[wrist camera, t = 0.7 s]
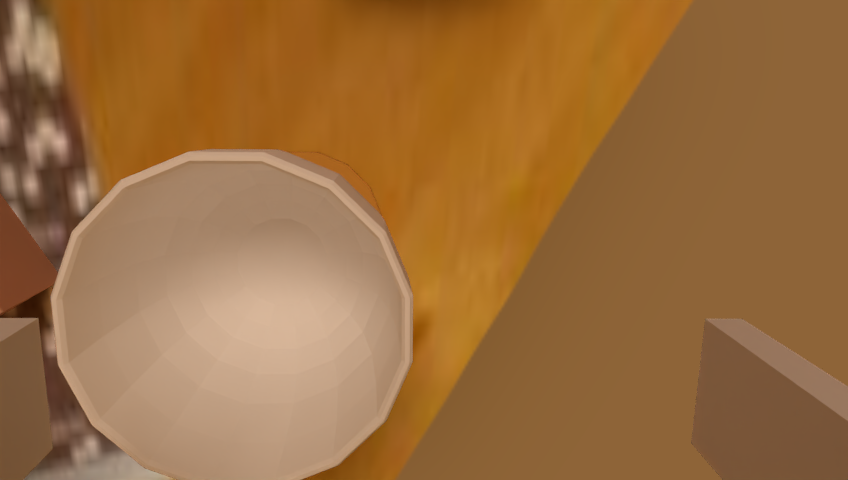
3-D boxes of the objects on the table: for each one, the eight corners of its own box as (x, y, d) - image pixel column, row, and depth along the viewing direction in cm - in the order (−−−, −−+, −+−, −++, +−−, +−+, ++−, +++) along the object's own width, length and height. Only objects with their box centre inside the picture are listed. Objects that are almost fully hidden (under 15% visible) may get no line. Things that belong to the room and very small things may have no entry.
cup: (446, 202, 38) (486, 283, 21) (334, 363, 40) (292, 553, 23) (270, 83, 36) (165, 70, 20) (161, 257, 38) (-20, 381, 21)
